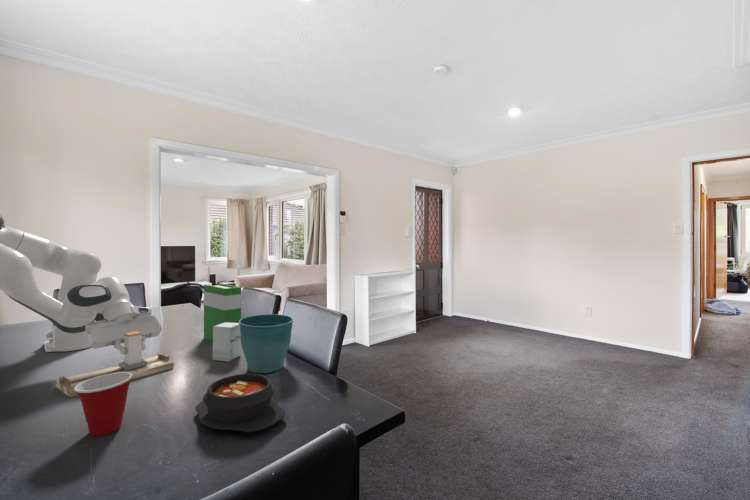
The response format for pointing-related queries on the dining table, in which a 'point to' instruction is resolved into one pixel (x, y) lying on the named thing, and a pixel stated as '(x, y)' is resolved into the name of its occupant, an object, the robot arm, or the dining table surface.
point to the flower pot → (265, 341)
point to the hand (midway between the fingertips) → (133, 351)
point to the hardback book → (220, 306)
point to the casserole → (240, 404)
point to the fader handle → (133, 351)
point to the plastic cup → (104, 401)
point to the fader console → (152, 367)
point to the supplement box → (226, 341)
